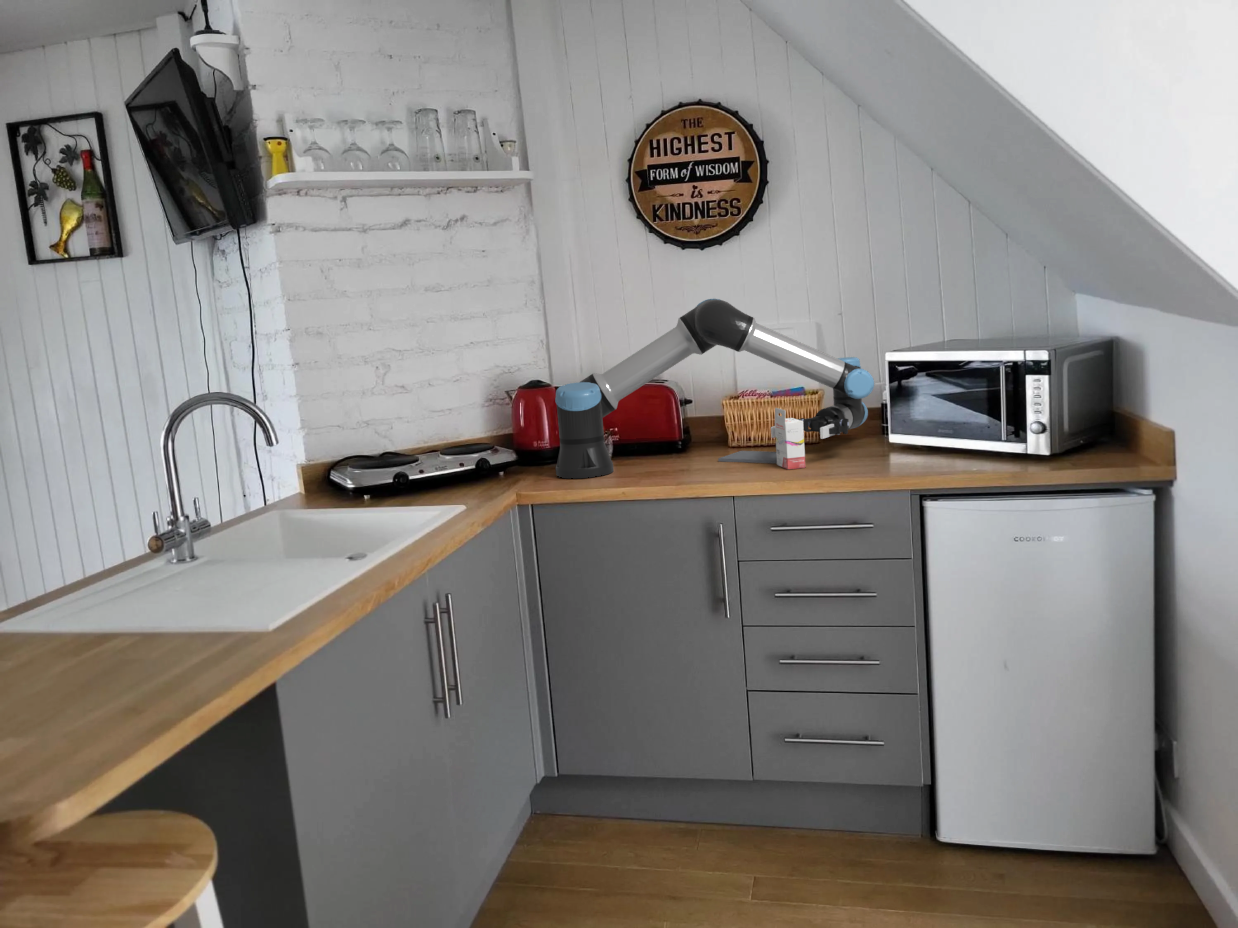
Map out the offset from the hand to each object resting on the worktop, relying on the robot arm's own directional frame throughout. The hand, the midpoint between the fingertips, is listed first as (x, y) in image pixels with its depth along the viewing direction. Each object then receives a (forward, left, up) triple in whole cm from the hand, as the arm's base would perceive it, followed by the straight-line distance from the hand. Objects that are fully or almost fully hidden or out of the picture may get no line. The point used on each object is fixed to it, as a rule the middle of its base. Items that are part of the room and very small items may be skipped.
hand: (796, 432), depth 264 cm
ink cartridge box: (-1, -2, -8) cm, 9 cm away
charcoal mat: (-15, +7, -8) cm, 18 cm away
